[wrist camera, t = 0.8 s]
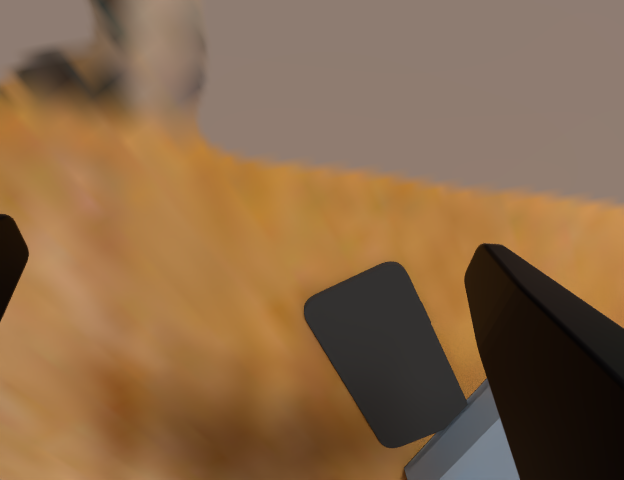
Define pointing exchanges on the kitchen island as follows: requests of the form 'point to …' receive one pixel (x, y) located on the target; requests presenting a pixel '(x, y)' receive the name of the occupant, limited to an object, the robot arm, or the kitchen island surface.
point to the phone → (387, 354)
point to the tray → (467, 446)
